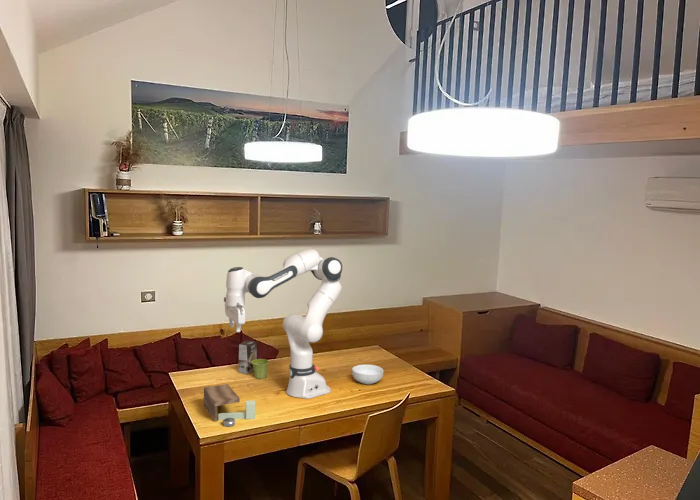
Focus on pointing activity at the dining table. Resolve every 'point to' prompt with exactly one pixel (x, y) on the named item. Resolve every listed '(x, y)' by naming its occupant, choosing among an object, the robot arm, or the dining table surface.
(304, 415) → the dining table surface
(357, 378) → the cereal bowl
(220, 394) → the walnut shelf
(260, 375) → the plant pot
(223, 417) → the sage paddle
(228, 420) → the steel puck
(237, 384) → the dining table surface
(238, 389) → the dining table surface
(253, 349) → the coffee box
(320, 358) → the dining table surface
